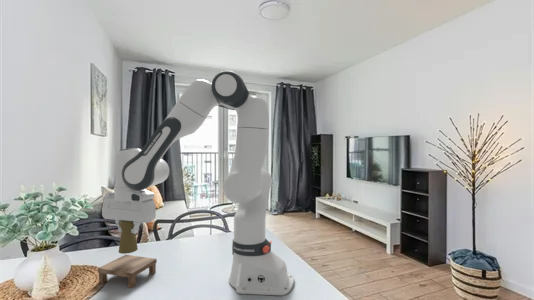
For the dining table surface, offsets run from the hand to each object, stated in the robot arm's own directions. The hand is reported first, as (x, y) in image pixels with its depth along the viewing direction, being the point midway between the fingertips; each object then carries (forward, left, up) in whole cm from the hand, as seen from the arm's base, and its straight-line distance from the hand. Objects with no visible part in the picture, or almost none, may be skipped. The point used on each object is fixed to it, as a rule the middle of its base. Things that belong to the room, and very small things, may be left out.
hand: (128, 232), depth 95 cm
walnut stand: (0, 0, -16) cm, 16 cm away
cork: (0, 0, -7) cm, 7 cm away
